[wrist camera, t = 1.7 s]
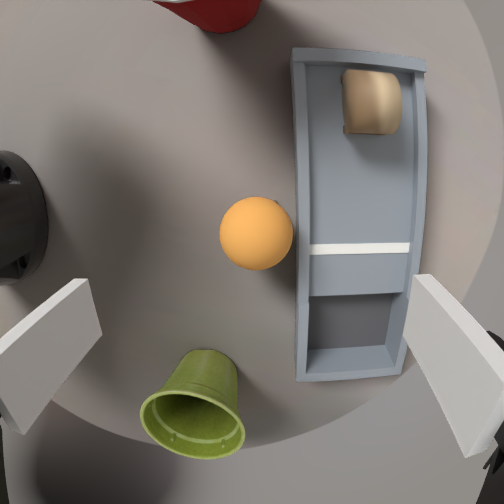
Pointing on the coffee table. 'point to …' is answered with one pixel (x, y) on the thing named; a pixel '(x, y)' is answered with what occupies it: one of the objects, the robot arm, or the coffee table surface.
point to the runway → (355, 218)
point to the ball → (256, 233)
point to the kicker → (371, 102)
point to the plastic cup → (214, 13)
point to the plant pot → (197, 408)
